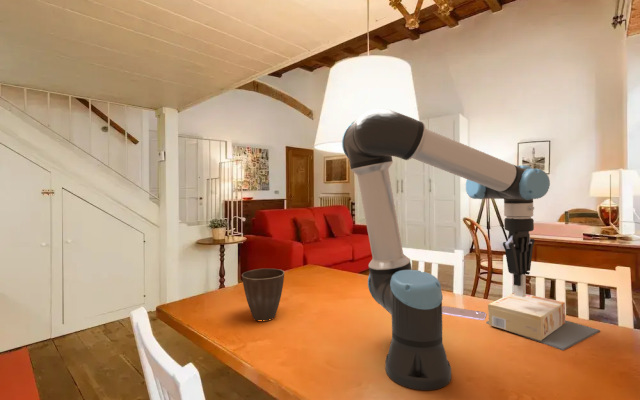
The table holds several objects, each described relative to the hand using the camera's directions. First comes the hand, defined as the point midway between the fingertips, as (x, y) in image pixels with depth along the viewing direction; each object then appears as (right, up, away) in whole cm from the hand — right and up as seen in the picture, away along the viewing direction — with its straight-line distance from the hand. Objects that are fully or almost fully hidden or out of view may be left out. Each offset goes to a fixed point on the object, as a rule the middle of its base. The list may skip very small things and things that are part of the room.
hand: (519, 295), depth 99 cm
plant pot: (-80, -13, +18) cm, 83 cm away
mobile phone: (-10, -12, +18) cm, 23 cm away
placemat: (+9, -11, +4) cm, 15 cm away
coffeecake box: (-3, -8, -1) cm, 8 cm away
